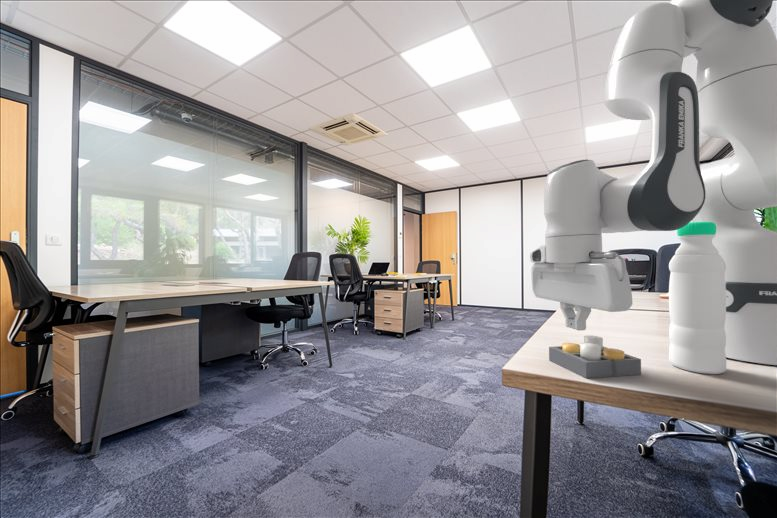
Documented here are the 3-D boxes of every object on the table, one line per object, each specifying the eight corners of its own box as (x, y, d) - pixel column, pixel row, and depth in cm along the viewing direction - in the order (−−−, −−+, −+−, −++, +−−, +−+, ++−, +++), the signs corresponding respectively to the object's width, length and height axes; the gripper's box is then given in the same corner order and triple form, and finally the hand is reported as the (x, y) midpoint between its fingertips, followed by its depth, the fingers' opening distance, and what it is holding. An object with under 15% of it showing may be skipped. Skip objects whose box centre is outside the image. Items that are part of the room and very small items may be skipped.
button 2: (591, 358, 54) (591, 342, 54) (605, 363, 51) (605, 347, 51) (576, 359, 54) (576, 343, 54) (589, 364, 51) (589, 348, 51)
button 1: (572, 356, 59) (572, 342, 59) (584, 361, 56) (584, 346, 56) (558, 357, 58) (558, 343, 58) (570, 362, 55) (569, 347, 55)
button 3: (594, 349, 59) (593, 335, 59) (606, 354, 56) (606, 339, 56) (580, 350, 59) (580, 335, 59) (592, 354, 56) (592, 339, 56)
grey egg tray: (596, 357, 60) (596, 344, 60) (641, 374, 51) (640, 359, 51) (549, 360, 59) (549, 346, 59) (586, 378, 50) (586, 362, 50)
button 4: (614, 363, 55) (613, 347, 55) (629, 369, 52) (628, 352, 52) (599, 364, 55) (599, 348, 55) (613, 370, 52) (613, 353, 52)
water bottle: (700, 361, 57) (700, 224, 57) (739, 376, 50) (739, 219, 50) (658, 360, 58) (658, 225, 58) (691, 374, 51) (691, 220, 51)
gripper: (642, 250, 47) (645, 342, 47) (552, 252, 67) (554, 317, 67) (605, 251, 46) (608, 345, 46) (524, 254, 66) (527, 319, 67)
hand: (575, 328), depth 57 cm, fingers closed
